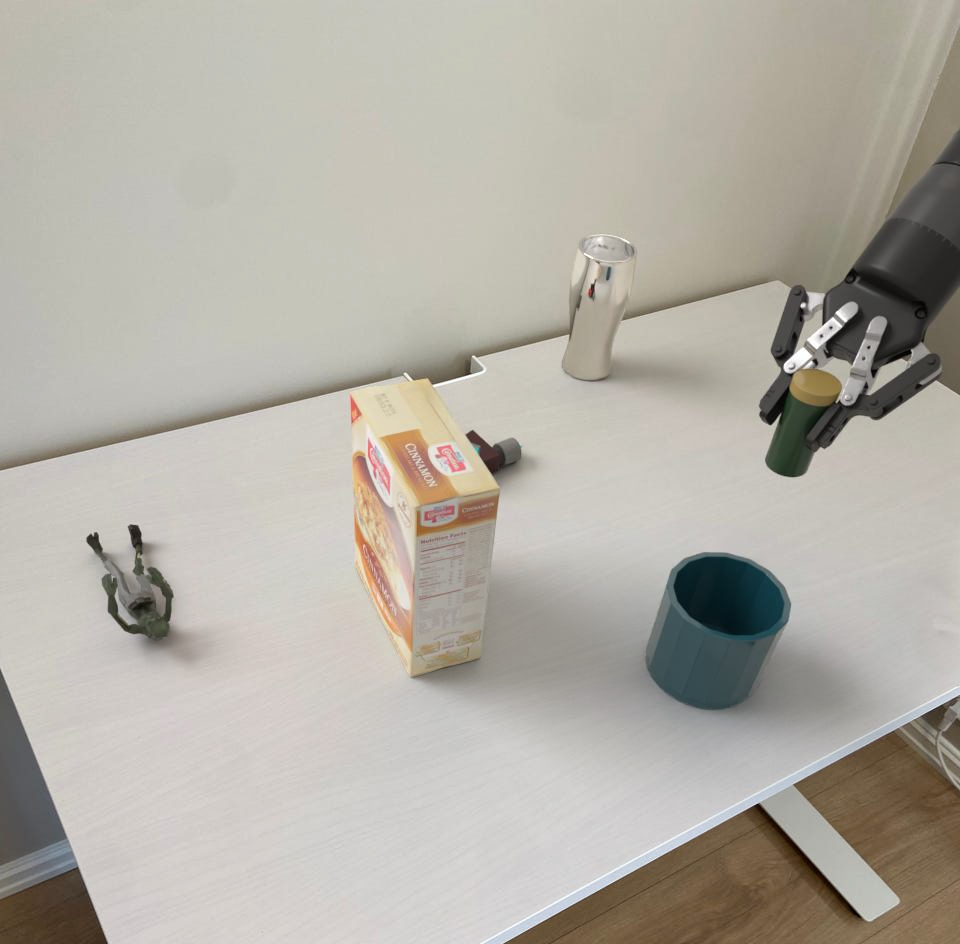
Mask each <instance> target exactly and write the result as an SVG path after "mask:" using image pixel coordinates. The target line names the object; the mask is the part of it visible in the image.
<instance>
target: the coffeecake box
mask: <svg viewBox="0 0 960 944" xmlns="http://www.w3.org/2000/svg"><path fill="white" fill-rule="evenodd" d="M349 398H350V420H351V421H350V422H351V448H352V449H351V452H352V453H351V454H352V455H351V456H352V485H353V487H352V488H353V517H354V518H353V519H354V521H353V522H354V553H355V555H354V556H355V561H354V566H355V569H356V570H357V573H358V575H359V577H360V579H361V581H362V583H363V586H364V587H365V589H366V592H367V594H368V596H369V597H370V600H371V602H372V604H373V605H374V608H375V610H376V612H377V614H378V616H379V618H380V620H381V622H382V624H383V626H384V628H385V630H386V632H387V633H388V634H387V635H388V636H389V638H390V640H391V642H392V644H393V646H394V648H395V650H396V652H397V654H398V656H399V659H400V660H401V662H402V664H403V666H404V668H405V669H406V672H407V674H408V676H409V677H410V678H413V677H417V676H421V675H425V674H429V673H431V672H435V671H437V670H440V669H442V668H446V667H451V666H455V665H460V664H464V663H468V662H471V661H474V660H475V661H476V660H479V659H480V658H481V657H482V649H483V639H484V631H485V622H486V611H487V605H488V604H487V603H488V596H489V587H490V580H491V579H490V578H491V571H492V570H491V569H492V561H493V551H494V544H495V535H496V527H497V518H498V517H497V516H498V509H499V501H500V495H501V494H500V493H501V486H500V485H499V484H498V482H497V481H496V479H495V477H494V476H493V473H490V471H489V470H488V468H487V467H486V465H485V464H484V462H483V461H482V459H481V458H480V456H479V455H478V453H477V452H476V450H475V449H474V447H473V446H472V444H471V443H470V441H469V440H468V438H467V437H466V435H465V434H466V433H465V432H464V431H463V429H462V428H461V426H460V425H459V423H458V421H457V420H456V418H455V417H454V415H453V414H452V413H451V411H450V409H449V407H448V406H447V405H446V404H445V402H444V401H443V399H442V397H441V395H440V394H439V393H438V391H437V390H436V388H435V387H434V385H433V384H432V382H431V381H430V379H429V378H427V377H426V378H421V379H416V380H415V379H414V380H409V381H404V382H399V383H394V384H387V385H381V386H380V385H374V386H368V387H362V388H358V389H355V390H351V391H349Z"/></svg>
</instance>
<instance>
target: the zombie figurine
mask: <svg viewBox="0 0 960 944" xmlns="http://www.w3.org/2000/svg"><path fill="white" fill-rule="evenodd" d="M127 529H128V532H129V536H130V542H131V545H132V547H133V548H134V549H135V556H134V567H133V569H132V570H131V571H132V573H133V574H134V575H135V579H136V582H137V583H138V585H139V587H140V592H139V591H138V592H135V593H132V592H131V590H130V588H129V586H128V584H127V582H126V579H125V573H124V572H123V571H122V570H120V568H119V566H118V565H116V564H115V562H114V561H113V560H111V559H110V558H108V557H107V556H106V555H104V553H103V550H104V548H103V546H102V545H101V542H100V534H99V533H98V532H97V531H95V532H93V534H92V533H89V534H88V535H87V536H86V539H85V542H86V544H87V545H88V546H89V547H90V548H91V549H92V551H93V553H94V554H95V555H98V557H99V558H100V560H101V562H102V564H103V567H104V568H105V570H107V571H108V572H109V573H105V574H104V575H103V576H102V578H101V579H100V581H101V586H102V588H103V590H104V591H105V593H106V595H107V613H108V614H109V615H110V616H111V617H112V618H113V620H114V621H115V622H116V623H117V624H118V625H119V627H120V628H121V629H122V630H123V631H124V632H126V633H129V634H131V635H143V636H147V637H148V638H152V639H154V640H155V641H156V640H158V641H159V640H162V639H164V638H168V635H169V633H170V630H171V627H170V623H169V622H171V619H172V612H173V609H172V607H173V605H172V603H173V598H175V596H174V592H173V589H172V588H171V584H170V583H168V581H167V580H166V579H165V577H164V576H163V574H162V573H161V571H160V570H159V569H158V568H156V567H153V566H149V567H147V568H146V569H145V565H143V560H142V558H141V556H142V555H143V553H144V550H143V545H144V543H143V539H142V535H143V534H142V531H141V529H140V527H139V525H138V524H132V523H131V524H129V525H127ZM144 570H146V571H147V572H148V574H145V571H144ZM152 586H154V587H157V588H159V589H160V592H161V595H162V596H163V597H164V599H165V605H164V607H165V608H164V613H163V615H161V614H160V613H159V612H158V611H157V606H158V605H157V598H156V595H155V591H154V589H153V587H152ZM116 592H118V593H116ZM116 594H117V596H118V600H119V602H120V604H121V605H122V607H123V608H124V610H125V611H126V612H127V613H128V614H129V616H131V617H132V618H133V619H135V620H136V621H137V622H138V624H137V623H131V624H129V623H127V621H126V620H125V619H124V618H123V617H122V616H121V615H120V614H119V605H118V601H117V599H116V597H115V596H116Z"/></svg>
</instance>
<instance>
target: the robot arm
mask: <svg viewBox="0 0 960 944" xmlns="http://www.w3.org/2000/svg"><path fill="white" fill-rule="evenodd" d="M959 288H960V126H959V127H958V128H957V130H956V131H955V133H953V135H952V136H951V138H949V140H948V141H947V143H946V145H945V146H944V147H943V149H942V150H940V153H939V154H938V155H937V156H936V158H935V159H934V160H933V162H932V163H931V165H930V166H929V167H928V169H926V171H925V172H924V174H923V175H921V177H920V178H919V179H918V180H917V181H916V182H915V183H914V184H913V185H912V186H911V188H910V189H908V191H907V192H906V193H905V195H903V197H902V198H901V200H900V201H899V202H898V204H897V205H896V206H895V208H894V209H893V210H892V212H891V213H890V214H889V216H888V217H887V218H886V220H885V221H884V223H883V224H882V225H881V226H880V228H879V230H878V231H877V232H876V233H875V235H874V236H873V238H872V239H871V240H870V242H869V243H868V244H867V245H866V247H865V248H864V250H863V251H862V252H861V254H860V255H859V257H858V258H857V259H856V261H855V262H854V263H853V264H852V266H851V267H850V269H849V271H848V272H847V274H846V275H845V277H844V279H843V280H841V281H840V282H839V283H838V284H837V285H835V286H833V287H831V288H830V289H829V290H827V292H826V293H823V292H815V291H814V292H813V291H807V290H806V287H805V286H803V285H801V284H796V285H794V286H792V287H791V288H790V290H789V293H788V296H787V299H786V302H785V305H784V308H783V311H782V314H781V316H780V320H779V323H778V326H777V329H776V332H775V335H774V338H773V341H772V344H771V346H770V354H771V355H772V358H773V360H774V362H775V363H776V365H777V367H779V369H780V372H779V374H778V376H777V377H776V379H775V380H774V381H773V383H772V384H771V385H770V387H769V388H768V389H767V391H766V392H765V393H764V394H763V395H762V397H761V399H760V400H759V404H758V408H759V413H758V416H759V418H760V420H761V421H762V422H763V423H765V424H766V425H768V426H772V425H773V424H774V423H775V422H776V421H777V419H778V418H780V415H781V413H782V410H783V407H784V404H785V401H786V399H787V396H788V393H789V390H790V388H789V387H790V384H791V381H792V378H793V375H794V374H795V373H796V372H797V371H799V370H802V369H821V368H824V367H825V366H826V365H827V364H829V363H830V362H831V361H832V360H833V359H837V360H841V361H845V362H847V363H848V364H849V365H850V366H851V368H850V371H849V376H848V379H847V381H846V383H845V386H844V388H843V389H842V391H841V393H840V394H841V395H840V396H839V397H840V398H839V400H837V401H836V402H834V401H833V403H832V404H831V405H830V406H829V408H828V409H827V410H826V412H825V413H824V414H823V416H822V417H821V418H820V420H819V421H818V422H817V424H816V425H815V426H814V427H813V429H812V430H811V431H810V433H809V434H808V435H807V437H806V438H805V441H804V443H805V445H806V447H807V448H808V449H809V450H811V451H813V452H815V453H817V452H818V451H819V449H820V448H821V449H823V450H826V449H827V448H829V447H830V446H832V444H833V443H834V442H835V440H836V439H837V438H838V437H839V435H840V434H841V432H842V431H843V430H844V428H845V427H846V426H847V425H848V423H849V422H850V421H851V419H853V418H854V417H855V418H856V417H857V416H858V417H859V416H862V417H868V418H869V419H871V420H873V421H880V420H882V419H883V418H884V417H886V416H887V415H889V414H890V413H892V412H894V411H895V410H896V409H898V408H899V407H900V406H901V405H903V404H905V403H906V402H908V401H909V400H910V399H912V398H913V397H915V396H916V395H918V394H919V393H921V392H922V391H924V389H926V388H927V387H929V386H930V385H932V384H933V383H934V382H936V381H938V380H939V379H940V378H941V377H942V374H943V368H942V360H941V357H940V356H939V354H937V353H934V352H931V351H930V350H929V349H928V347H926V345H925V344H924V342H925V337H926V333H927V330H928V328H929V327H930V326H931V325H932V324H933V322H935V320H936V319H937V317H938V316H939V315H940V314H941V312H942V311H943V309H944V308H945V306H947V304H948V303H949V301H950V300H951V299H952V298H953V296H954V295H955V294H956V293H957V291H958V290H959ZM819 311H822V316H821V317H822V318H821V327H820V328H818V329H817V330H816V331H815V332H814V333H813V334H811V335H810V336H809V337H808V338H807V339H806V340H805V342H804V344H803V346H802V347H801V348H800V349H799V350H797V351H796V349H797V346H798V343H799V340H800V337H801V334H802V331H803V328H804V325H805V322H809V321H811V320H812V319H813V318H814V317H815V314H816V313H817V312H819ZM909 356H910V357H909ZM907 357H909V359H908V360H907V361H906V362H905V365H904V369H905V370H903V371H902V372H901V373H899V374H898V375H897V376H895V377H894V378H893V379H891V380H890V381H888V382H886V383H885V384H884V385H882V386H881V387H880V388H878V389H877V390H875V391H874V392H873V393H871V394H869V392H870V391H871V390H872V388H874V385H875V383H876V380H877V378H878V375H879V374H880V371H881V369H882V367H884V366H887V365H890V364H892V363H894V362H897V361H899V360H902V359H904V358H907Z"/></svg>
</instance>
